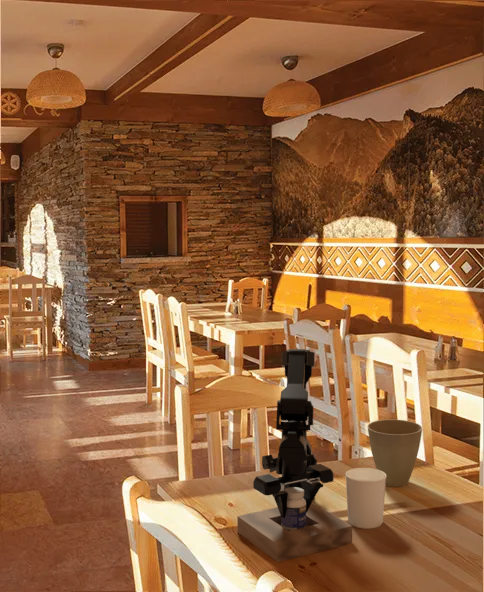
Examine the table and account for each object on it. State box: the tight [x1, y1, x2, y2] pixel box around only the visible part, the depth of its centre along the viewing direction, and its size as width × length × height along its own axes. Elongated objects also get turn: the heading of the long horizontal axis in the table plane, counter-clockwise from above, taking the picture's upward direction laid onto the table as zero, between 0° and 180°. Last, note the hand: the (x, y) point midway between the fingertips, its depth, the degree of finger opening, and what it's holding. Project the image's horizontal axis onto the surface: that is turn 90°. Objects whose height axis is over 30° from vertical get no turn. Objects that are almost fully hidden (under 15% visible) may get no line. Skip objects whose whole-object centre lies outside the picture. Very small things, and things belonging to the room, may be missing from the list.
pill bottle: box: [281, 487, 306, 531], centre depth 181 cm, size 6×6×10 cm
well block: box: [236, 502, 353, 563], centre depth 182 cm, size 20×18×4 cm
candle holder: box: [345, 467, 387, 530], centre depth 190 cm, size 10×10×12 cm
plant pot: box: [367, 419, 423, 488], centre depth 217 cm, size 15×15×16 cm
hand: (293, 514), depth 181 cm, fingers closed on pill bottle, 6 cm apart
